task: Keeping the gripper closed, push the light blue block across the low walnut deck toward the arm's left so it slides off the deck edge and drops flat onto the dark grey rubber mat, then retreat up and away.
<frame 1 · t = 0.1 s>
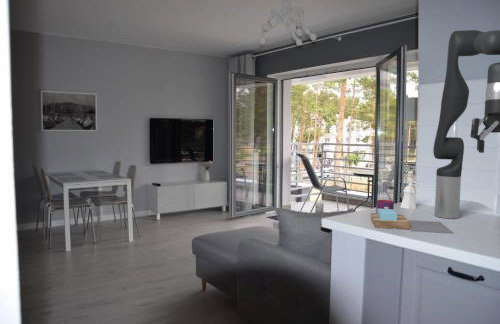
hand: (496, 152, 118), 29 cm above the table, fingers open, 8 cm apart
mug: (383, 217, 163), on the table
deck: (389, 224, 149), on the table
mat: (426, 226, 146), on the table
figurine: (407, 207, 183), on the table
light blue block: (386, 217, 149), point 2 cm above the table, touching deck
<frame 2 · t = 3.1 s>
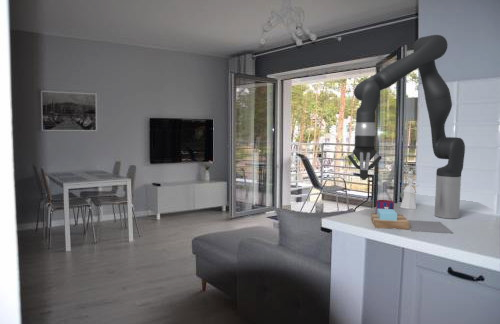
hand: (363, 179, 150), 17 cm above the table, fingers closed
nothing on the table moved.
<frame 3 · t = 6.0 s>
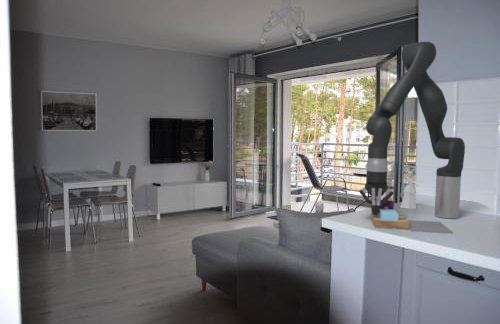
hand: (375, 214, 150), 3 cm above the table, fingers closed
light blue block: (387, 217, 149), point 3 cm above the table, touching deck, gripper
everything else where it was.
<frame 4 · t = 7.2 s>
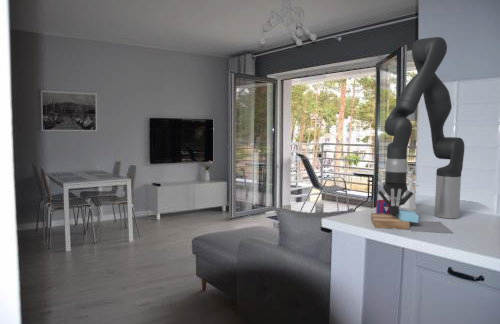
hand: (394, 215, 149), 3 cm above the table, fingers closed
light blue block: (406, 218, 148), point 2 cm above the table, tilted 6°, touching deck
everything else where it was.
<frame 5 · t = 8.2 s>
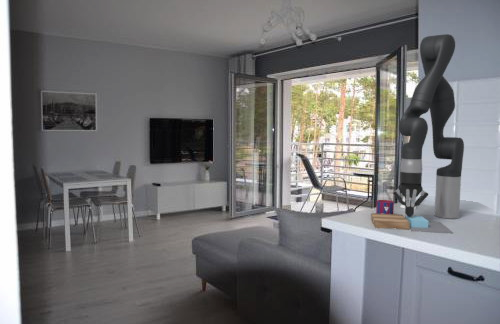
hand: (409, 216, 148), 3 cm above the table, fingers closed
light blue block: (416, 224, 148), resting on mat
everything else where it was.
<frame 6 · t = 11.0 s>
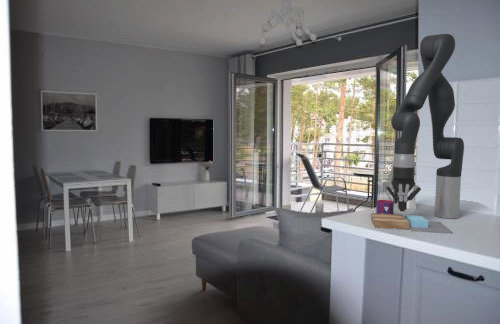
hand: (402, 210, 149), 5 cm above the table, fingers closed
nothing on the table moved.
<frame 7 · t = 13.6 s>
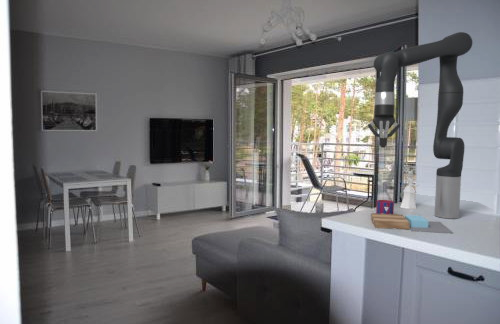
hand: (382, 147, 157), 29 cm above the table, fingers closed
nothing on the table moved.
at the end: light blue block resting on mat; light blue block inside the target area on the mat (3.5 cm from its centre), point 0.4 cm above the mat's base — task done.
